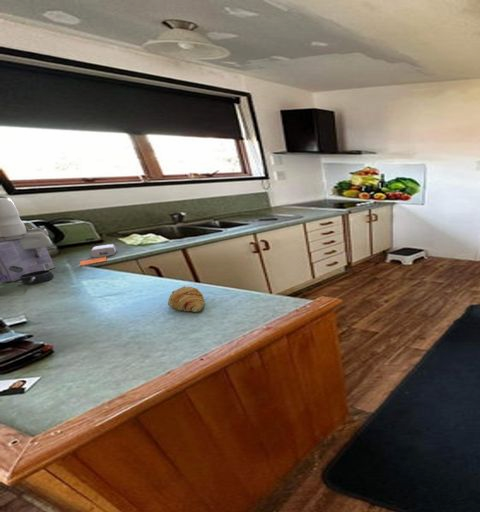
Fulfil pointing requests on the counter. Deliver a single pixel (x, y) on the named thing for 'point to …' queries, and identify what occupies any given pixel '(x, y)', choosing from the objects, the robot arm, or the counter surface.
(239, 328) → the counter surface
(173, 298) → the croissant
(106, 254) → the charger
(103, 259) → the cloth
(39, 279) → the pan
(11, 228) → the robot arm
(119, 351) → the counter surface
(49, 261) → the cake pan box
